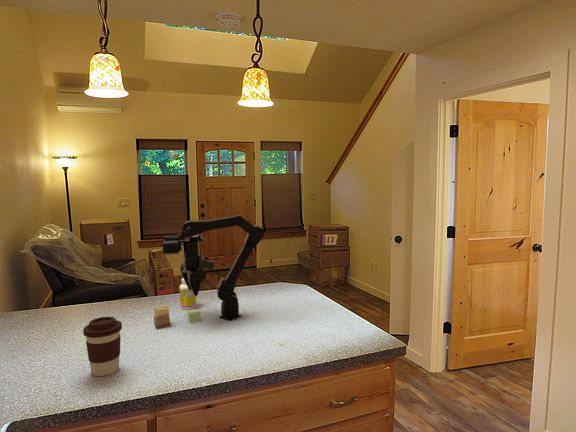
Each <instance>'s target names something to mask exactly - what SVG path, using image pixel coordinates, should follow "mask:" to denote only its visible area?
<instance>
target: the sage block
mask: <svg viewBox="0 0 576 432" xmlns="http://www.w3.org/2000/svg"><path fill="white" fill-rule="evenodd" d="M186 311H187V321H188V322H189V324H192V323H198V322H199V323H200V322H201V310H200V309H198V308H193V309H188V310H186Z"/></svg>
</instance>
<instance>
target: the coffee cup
mask: <svg viewBox="0 0 576 432" xmlns="http://www.w3.org/2000/svg"><path fill="white" fill-rule="evenodd" d="M122 328H123V324H122V321H120V320H118V319H116V318H115V317H113V316H101V317H97V318H94V319H92V320H90V321H89V322H88V324H87V325H86V326H84V327H83V329H82V333H83V334H82V335H83V336H84V337H85V339H86V341H85V344H86V351H87V359H88V361H89V365H90V373H91V375H93V376H95V377H106V376H110V375H112V374H114V373H115V372H117V371H118V370H119V369H120V355H121V333H120V331H121V330H122Z"/></svg>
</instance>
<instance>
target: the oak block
mask: <svg viewBox="0 0 576 432" xmlns="http://www.w3.org/2000/svg"><path fill="white" fill-rule="evenodd" d="M153 309H154V316H155V318H156V320H159V319H165V318H169V317H170V309H169V307H168V305H167V304H166V305H160V306H155V307H153Z"/></svg>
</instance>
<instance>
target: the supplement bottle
mask: <svg viewBox="0 0 576 432" xmlns="http://www.w3.org/2000/svg"><path fill="white" fill-rule="evenodd" d="M196 306H197V296H194V293H193V291H192V290H189V289H188V287H187V285H186V282H185V280H184V278H183V277H182V278H181V284H180V285H179V307H180V309H182V310H186V311H187V310H192V309H196Z"/></svg>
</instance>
